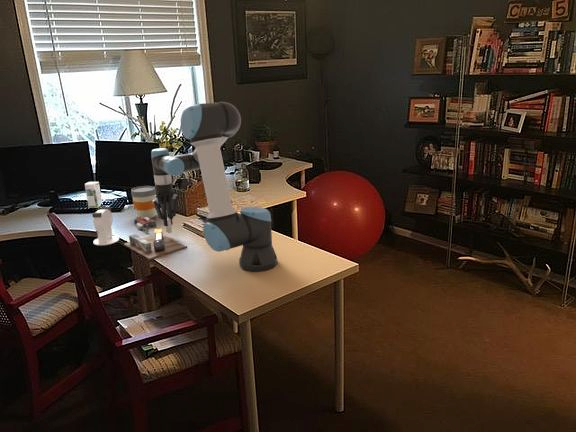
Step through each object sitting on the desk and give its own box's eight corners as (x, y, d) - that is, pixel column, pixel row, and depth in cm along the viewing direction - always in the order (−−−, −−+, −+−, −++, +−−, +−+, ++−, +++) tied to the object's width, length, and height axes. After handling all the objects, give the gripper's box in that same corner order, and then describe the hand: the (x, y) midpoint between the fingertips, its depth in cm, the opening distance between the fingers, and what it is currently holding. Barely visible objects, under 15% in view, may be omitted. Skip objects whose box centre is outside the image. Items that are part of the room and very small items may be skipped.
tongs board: (187, 248, 213) (186, 238, 212) (149, 260, 202) (148, 250, 200) (160, 234, 230) (159, 226, 229) (124, 245, 219) (122, 236, 217)
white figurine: (100, 235, 231) (95, 205, 227) (123, 235, 230) (119, 205, 226) (88, 245, 220) (83, 214, 215) (112, 245, 219) (107, 213, 214)
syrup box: (88, 208, 274) (84, 183, 269) (93, 205, 279) (89, 181, 274) (97, 209, 273) (93, 184, 268) (103, 205, 278) (99, 181, 274)
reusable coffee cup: (148, 211, 266) (145, 184, 261) (163, 214, 259) (160, 187, 254) (129, 217, 256) (125, 190, 252) (144, 221, 249) (141, 193, 244)
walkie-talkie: (130, 224, 247) (146, 234, 232) (129, 216, 245) (144, 226, 230) (147, 220, 252) (163, 230, 237) (145, 212, 250) (162, 221, 235)
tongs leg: (164, 250, 208) (163, 242, 207) (154, 252, 207) (153, 243, 206) (164, 235, 227) (163, 226, 225) (154, 236, 226) (153, 228, 224)
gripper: (172, 178, 225) (177, 226, 233) (146, 184, 217) (152, 233, 225) (180, 181, 220) (185, 230, 228) (154, 187, 212) (160, 237, 219)
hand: (169, 232), depth 226 cm, fingers closed
